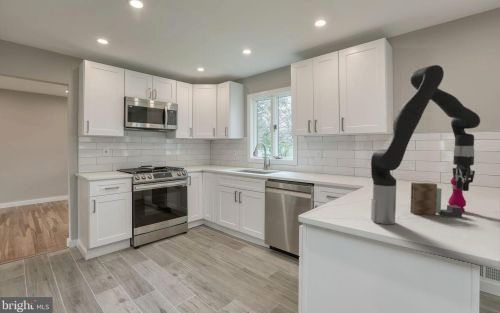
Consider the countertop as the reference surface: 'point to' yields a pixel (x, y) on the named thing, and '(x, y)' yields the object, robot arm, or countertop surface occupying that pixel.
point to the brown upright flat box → (423, 198)
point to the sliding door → (438, 201)
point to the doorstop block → (452, 211)
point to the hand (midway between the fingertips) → (462, 189)
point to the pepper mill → (457, 196)
